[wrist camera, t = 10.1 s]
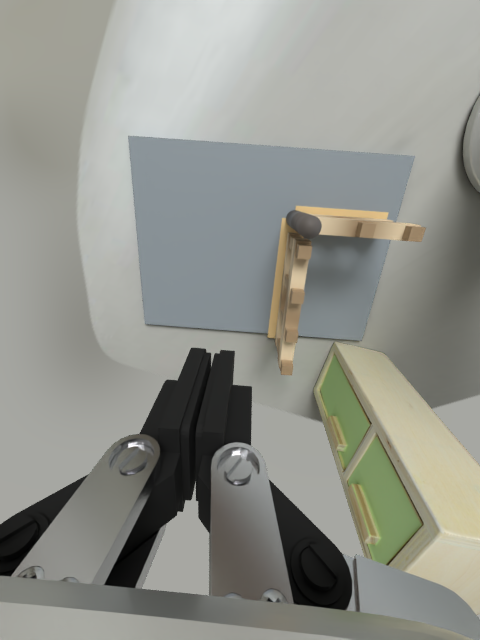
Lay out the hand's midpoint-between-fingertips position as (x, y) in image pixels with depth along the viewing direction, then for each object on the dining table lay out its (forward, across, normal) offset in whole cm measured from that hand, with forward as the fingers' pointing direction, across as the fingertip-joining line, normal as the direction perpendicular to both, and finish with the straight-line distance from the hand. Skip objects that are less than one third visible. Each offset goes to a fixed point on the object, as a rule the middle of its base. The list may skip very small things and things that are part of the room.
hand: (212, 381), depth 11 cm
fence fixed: (+21, -9, -5) cm, 23 cm away
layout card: (+21, -2, -1) cm, 21 cm away
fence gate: (+20, -5, +2) cm, 21 cm away
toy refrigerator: (+21, -14, +13) cm, 29 cm away
